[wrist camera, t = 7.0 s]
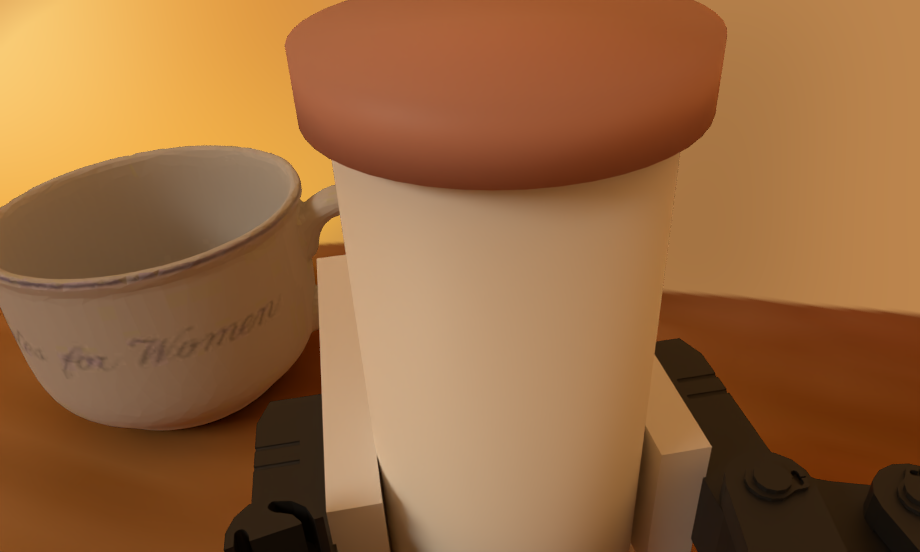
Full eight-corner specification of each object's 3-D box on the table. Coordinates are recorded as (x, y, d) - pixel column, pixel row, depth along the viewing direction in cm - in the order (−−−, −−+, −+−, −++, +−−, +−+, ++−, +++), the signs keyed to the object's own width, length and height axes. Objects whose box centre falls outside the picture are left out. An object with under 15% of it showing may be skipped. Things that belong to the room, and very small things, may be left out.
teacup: (-9, 468, 26) (-115, 278, 22) (133, 291, 35) (78, 131, 31) (381, 487, 25) (352, 288, 21) (426, 298, 34) (412, 130, 29)
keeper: (387, 908, 15) (186, 144, 6) (369, 668, 18) (233, -4, 10) (682, 840, 15) (904, 66, 6) (604, 622, 19) (676, -42, 10)
